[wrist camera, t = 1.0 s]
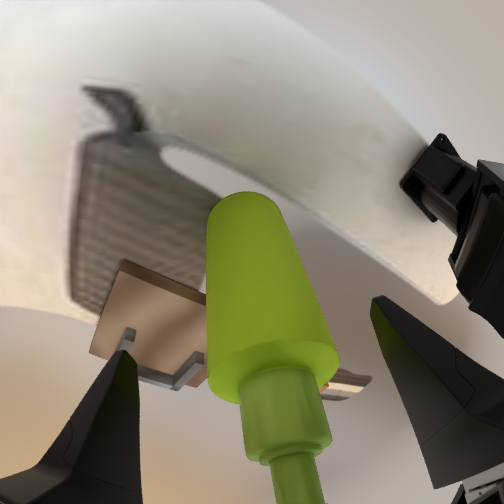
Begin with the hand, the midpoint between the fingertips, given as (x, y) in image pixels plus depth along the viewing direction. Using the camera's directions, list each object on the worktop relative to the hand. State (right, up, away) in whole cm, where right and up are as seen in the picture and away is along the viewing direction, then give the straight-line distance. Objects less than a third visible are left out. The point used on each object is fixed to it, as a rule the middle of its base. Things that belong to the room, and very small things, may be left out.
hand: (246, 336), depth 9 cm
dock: (-9, -6, +19) cm, 22 cm away
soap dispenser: (0, +5, +13) cm, 14 cm away
